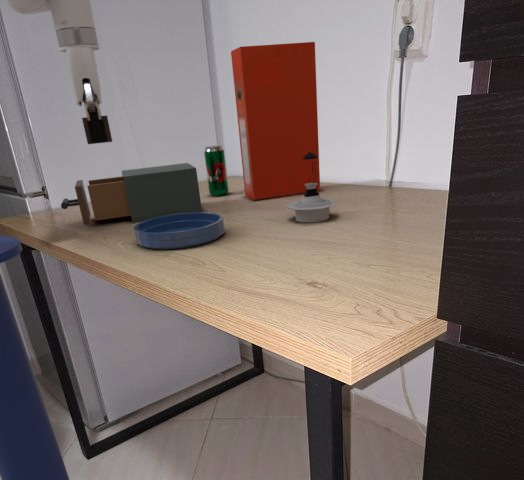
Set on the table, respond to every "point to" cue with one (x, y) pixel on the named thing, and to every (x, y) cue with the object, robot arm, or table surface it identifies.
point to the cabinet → (162, 191)
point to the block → (106, 125)
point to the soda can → (216, 170)
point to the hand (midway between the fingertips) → (99, 140)
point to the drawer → (101, 199)
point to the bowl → (179, 230)
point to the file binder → (277, 117)
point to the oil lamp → (311, 202)
